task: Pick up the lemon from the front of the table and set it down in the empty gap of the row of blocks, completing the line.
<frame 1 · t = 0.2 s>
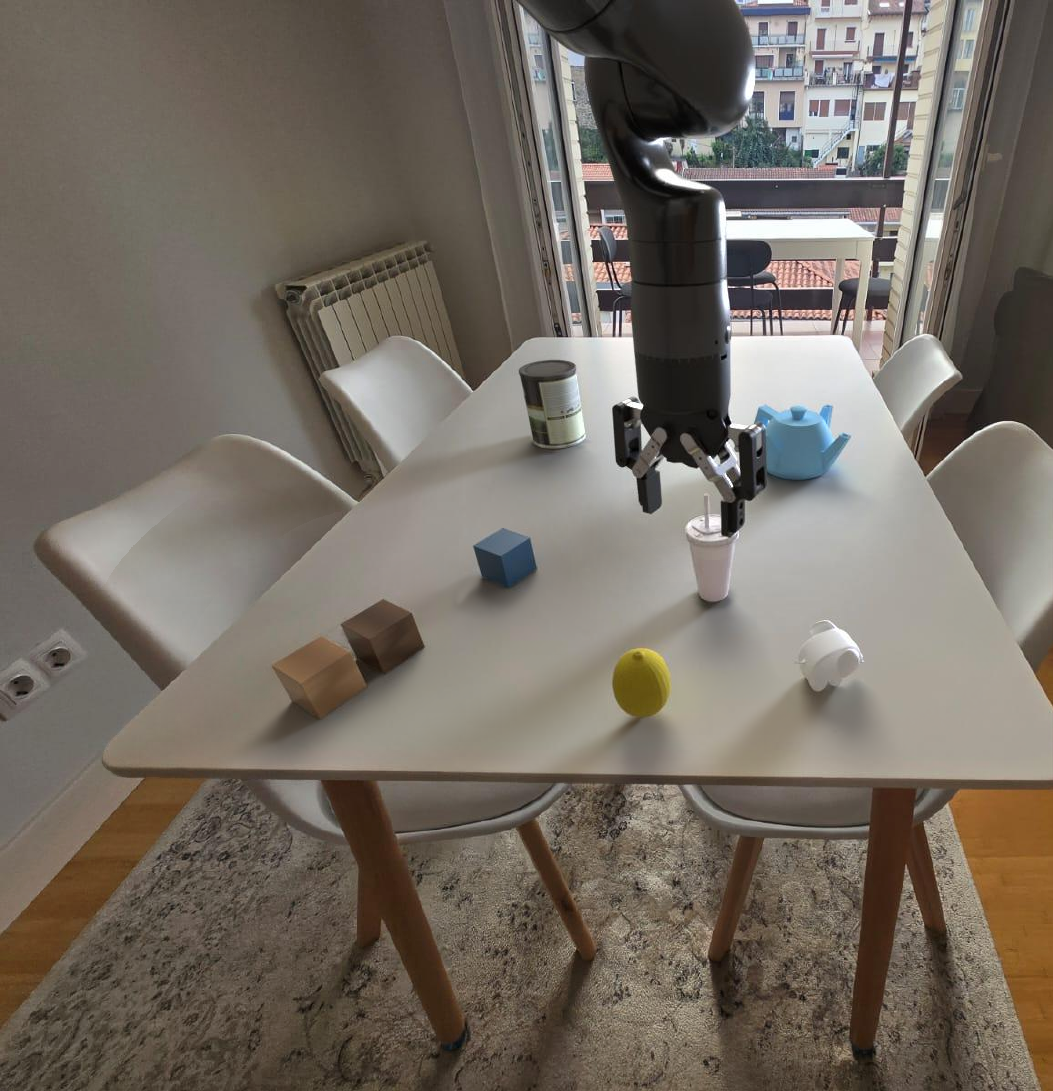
hand: (690, 521, 55), 18 cm above the table, tool pointing down, fingers open, 8 cm apart
block a: (329, 693, 62), on the table
smoothie: (713, 593, 75), on the table
teapot: (796, 466, 106), on the table
lemon: (645, 713, 59), on the table
coffee can: (559, 439, 118), on the table
white rounded piece: (826, 679, 63), on the table
block c: (509, 572, 79), on the table
block b: (391, 652, 67), on the table
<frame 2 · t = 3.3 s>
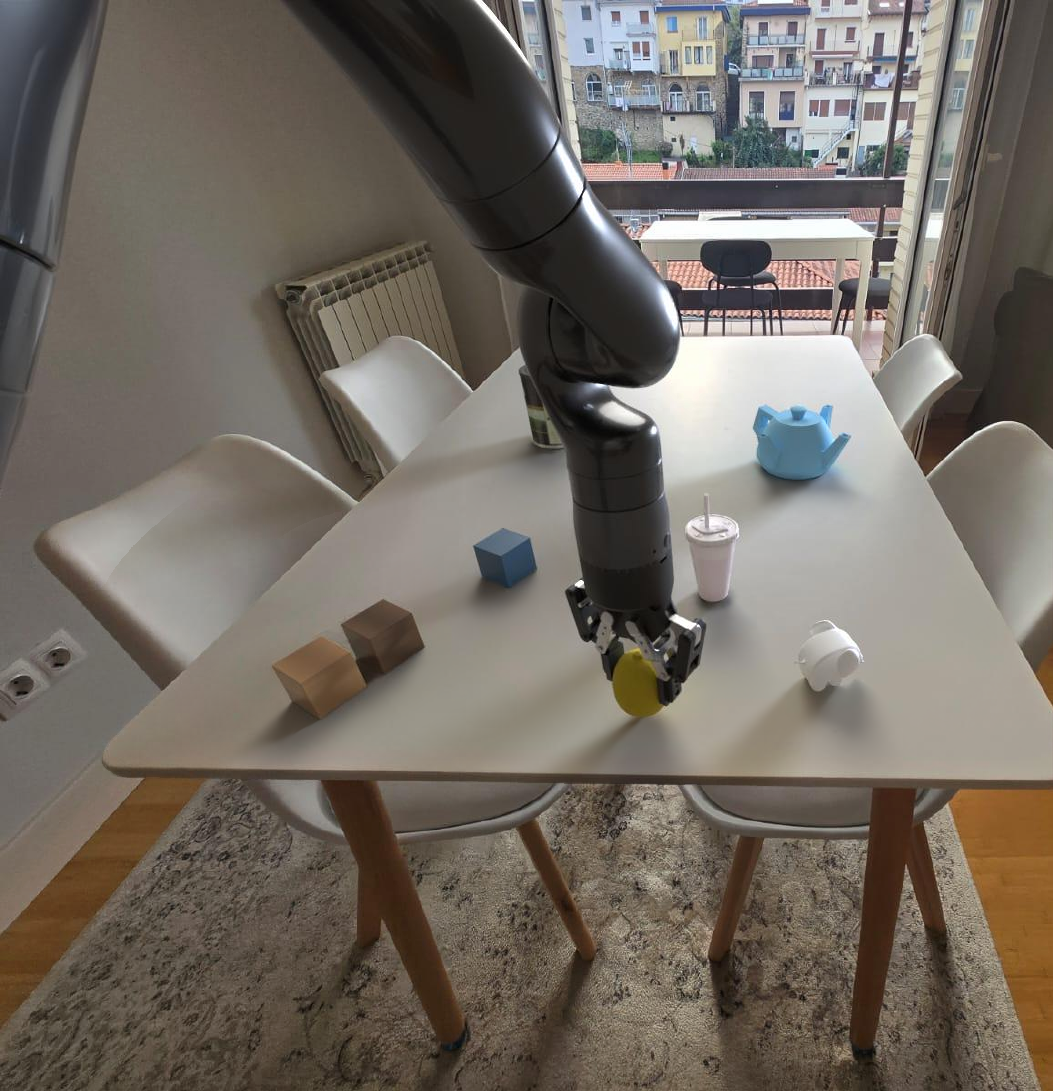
hand: (642, 686, 57), 4 cm above the table, tool pointing down, fingers closed on lemon, 5 cm apart
lemon: (645, 713, 59), on the table, touching gripper
everything else where it was.
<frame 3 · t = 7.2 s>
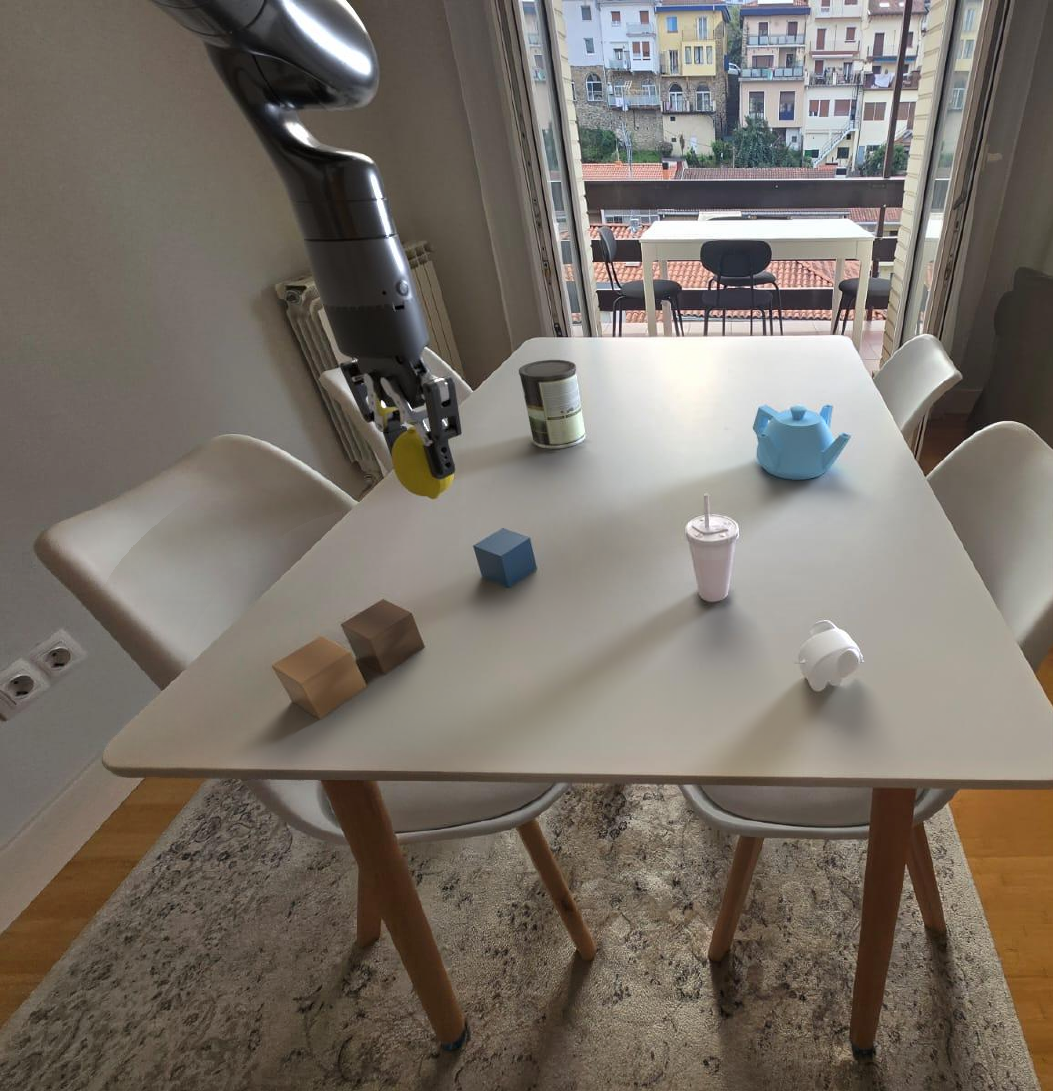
hand: (424, 468, 61), 20 cm above the table, tool pointing down, fingers closed on lemon, 5 cm apart
lemon: (435, 500, 63), point 16 cm above the table, touching gripper
everything else where it was.
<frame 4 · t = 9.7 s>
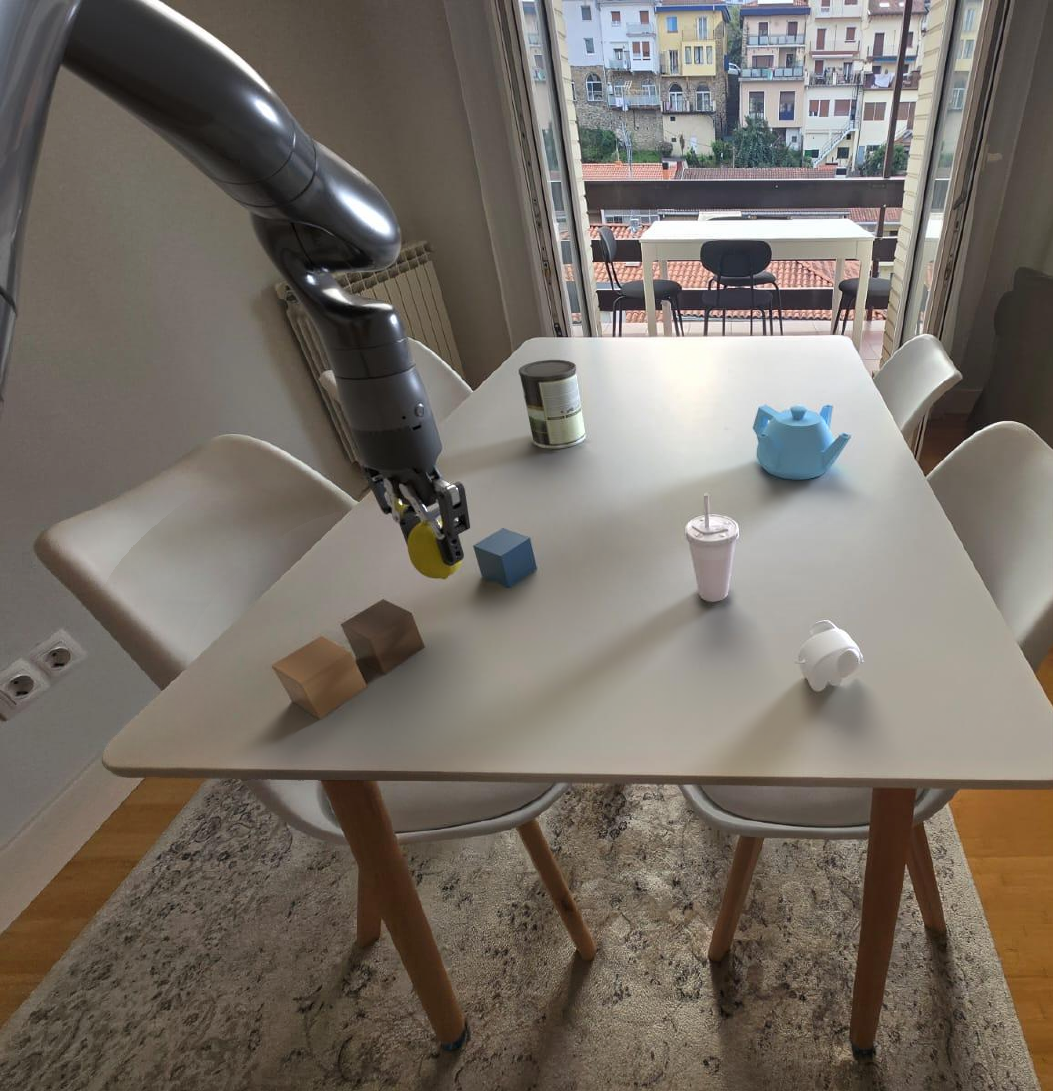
hand: (436, 554, 68), 8 cm above the table, tool pointing down, fingers closed on lemon, 5 cm apart
lemon: (445, 579, 70), point 5 cm above the table, touching gripper
everything else where it was.
when the fingers open (4 cm above the table, at t = 11.5 s): lemon stays where it is, on the table.
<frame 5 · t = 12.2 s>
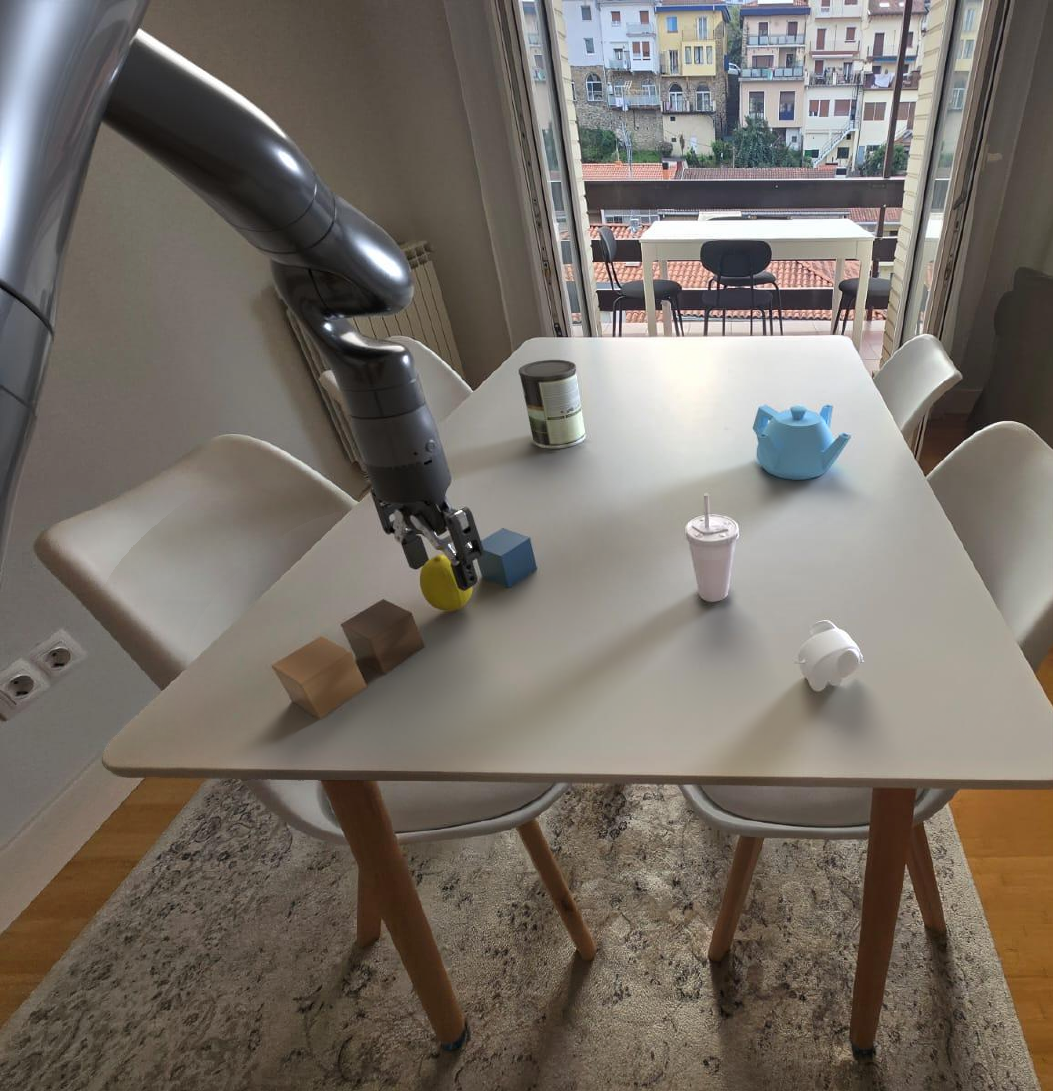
hand: (444, 575, 70), 5 cm above the table, tool pointing down, fingers open, 8 cm apart
lemon: (455, 611, 73), on the table
everything else where it was.
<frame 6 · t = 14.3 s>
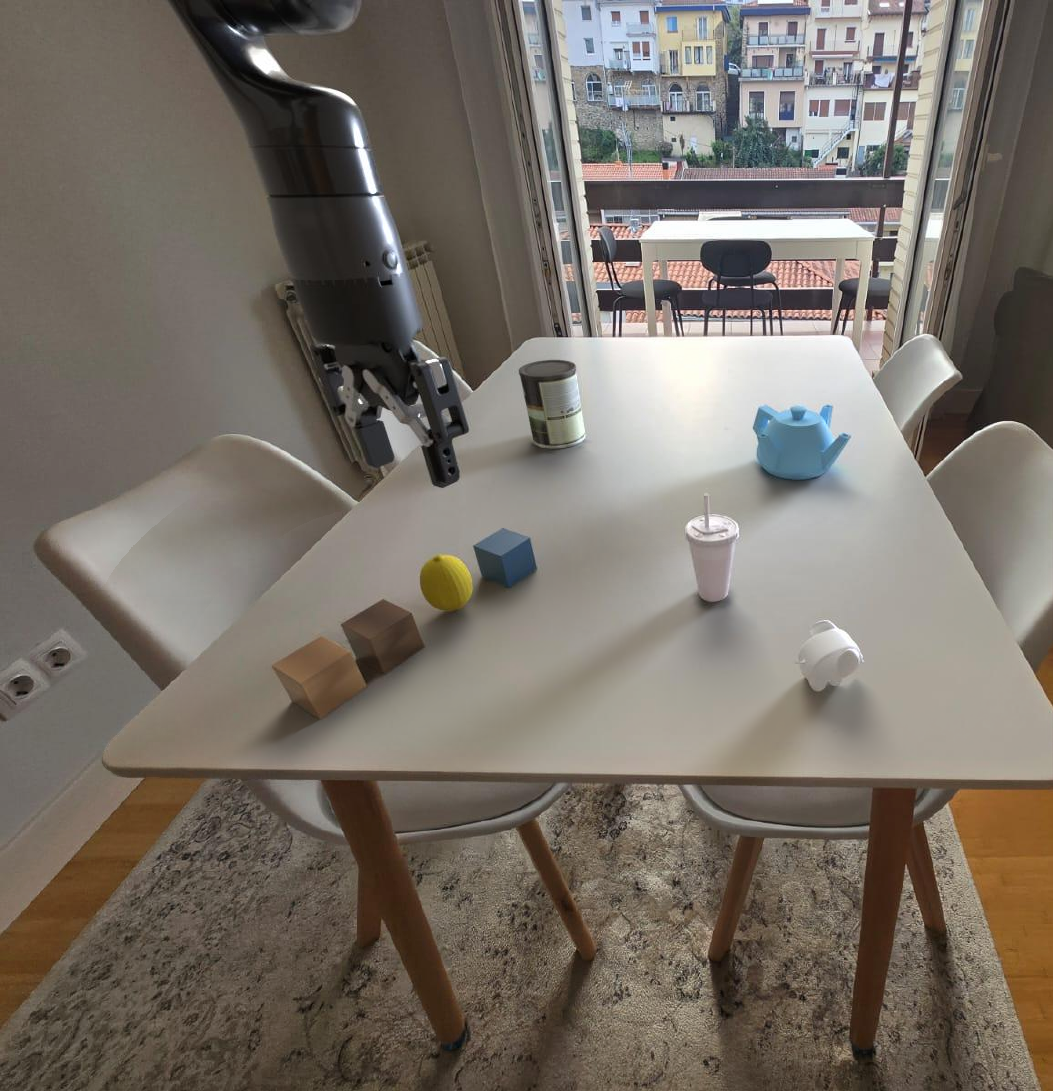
hand: (413, 473, 51), 23 cm above the table, tool pointing down, fingers open, 8 cm apart
nothing on the table moved.
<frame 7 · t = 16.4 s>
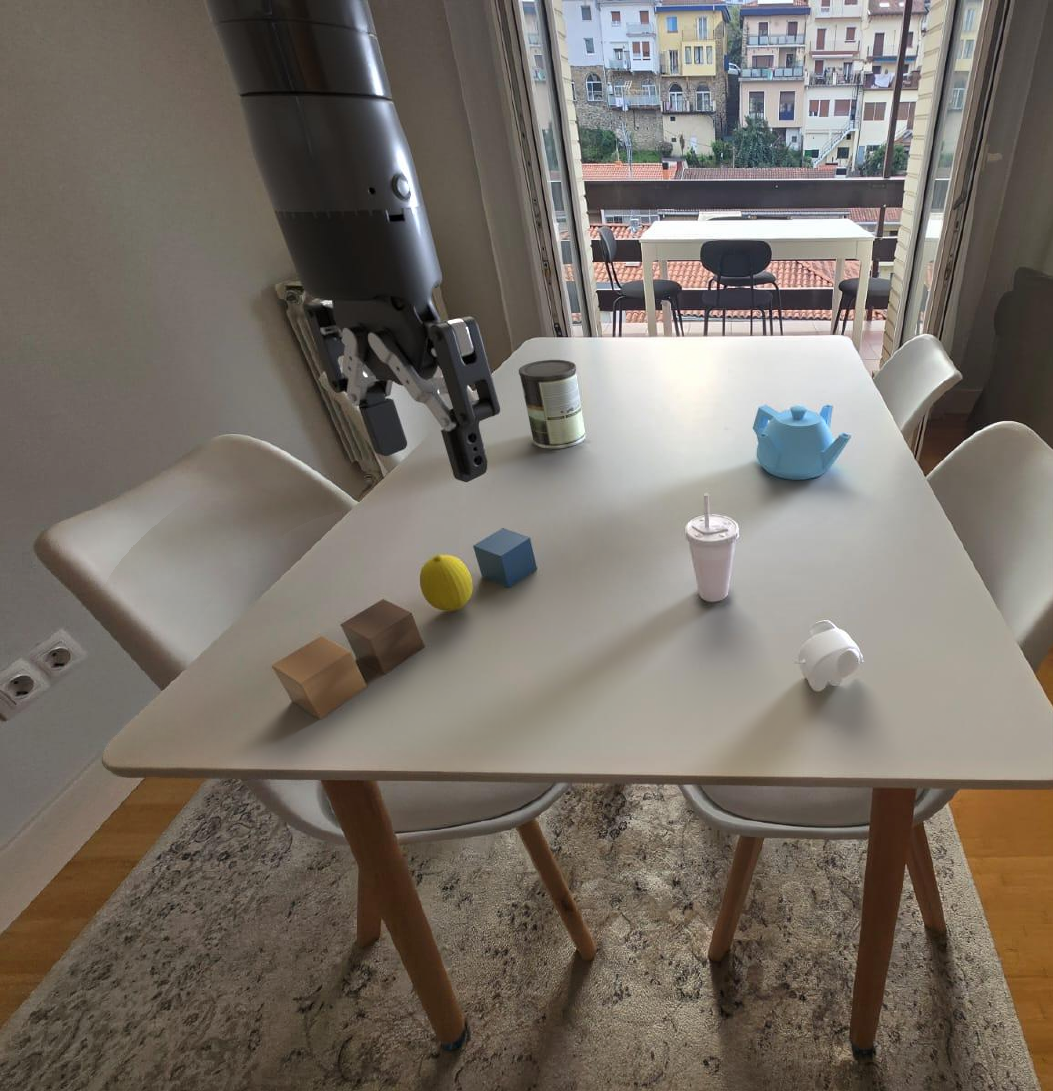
hand: (431, 463, 42), 28 cm above the table, tool pointing down, fingers open, 8 cm apart
nothing on the table moved.
at the end: lemon 0.1 cm from the target spot on the table beside the block c, on the table; the gripper is holding nothing; block b moved 0.0 cm from its start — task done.
